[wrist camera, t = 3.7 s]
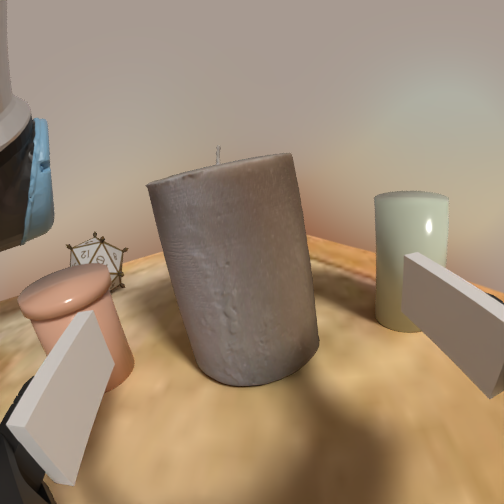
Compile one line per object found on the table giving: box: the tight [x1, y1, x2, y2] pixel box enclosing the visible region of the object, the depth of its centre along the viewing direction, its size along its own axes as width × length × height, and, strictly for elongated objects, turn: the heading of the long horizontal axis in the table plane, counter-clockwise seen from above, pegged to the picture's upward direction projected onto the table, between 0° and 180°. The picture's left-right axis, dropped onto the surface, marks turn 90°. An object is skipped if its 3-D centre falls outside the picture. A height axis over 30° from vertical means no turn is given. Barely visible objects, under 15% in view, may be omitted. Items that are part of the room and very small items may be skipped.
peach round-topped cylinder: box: [17, 263, 134, 393], centre depth 22 cm, size 8×8×8 cm
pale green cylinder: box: [374, 191, 449, 333], centre depth 23 cm, size 6×6×10 cm
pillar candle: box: [146, 146, 320, 386], centre depth 22 cm, size 10×10×15 cm
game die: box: [66, 232, 128, 291], centre depth 37 cm, size 9×8×10 cm
